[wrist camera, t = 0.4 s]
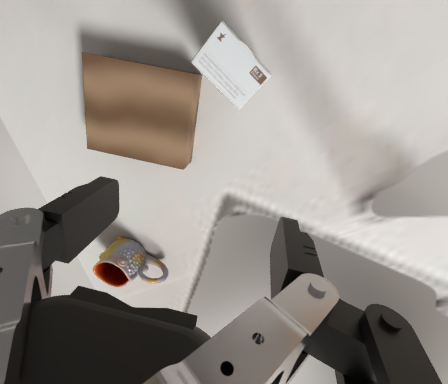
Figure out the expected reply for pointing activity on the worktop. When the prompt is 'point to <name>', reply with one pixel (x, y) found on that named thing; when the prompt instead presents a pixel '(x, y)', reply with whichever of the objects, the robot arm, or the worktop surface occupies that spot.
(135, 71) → the base
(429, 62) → the worktop surface
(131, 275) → the mug
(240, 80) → the skincare box
